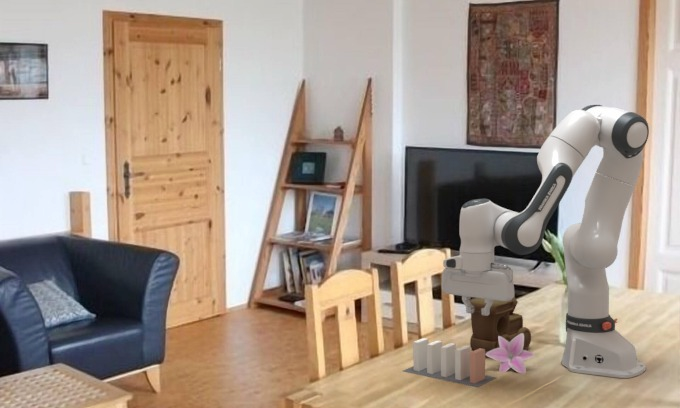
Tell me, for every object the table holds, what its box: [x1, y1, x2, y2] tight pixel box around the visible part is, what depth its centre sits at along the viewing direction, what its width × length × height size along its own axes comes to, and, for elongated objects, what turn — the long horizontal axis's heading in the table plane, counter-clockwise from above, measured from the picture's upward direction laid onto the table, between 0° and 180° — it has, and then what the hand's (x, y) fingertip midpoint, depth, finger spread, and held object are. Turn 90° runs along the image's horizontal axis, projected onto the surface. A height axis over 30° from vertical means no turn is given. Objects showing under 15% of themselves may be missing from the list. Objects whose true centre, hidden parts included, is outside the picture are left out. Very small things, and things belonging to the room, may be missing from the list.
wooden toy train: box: [469, 296, 532, 353], centre depth 271 cm, size 20×11×17 cm, turn 138°
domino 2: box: [427, 339, 443, 374], centre depth 252 cm, size 2×5×8 cm, turn 140°
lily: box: [485, 333, 536, 374], centre depth 253 cm, size 12×12×10 cm
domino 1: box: [412, 337, 430, 371], centre depth 255 cm, size 2×5×8 cm, turn 140°
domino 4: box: [455, 345, 471, 380], centre depth 246 cm, size 2×5×8 cm, turn 140°
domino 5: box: [470, 348, 486, 383], centre depth 243 cm, size 2×5×8 cm, turn 140°
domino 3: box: [441, 342, 457, 377], centre depth 249 cm, size 2×5×8 cm, turn 140°
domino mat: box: [402, 365, 497, 388], centre depth 249 cm, size 24×10×1 cm, turn 50°
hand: (477, 314), depth 242 cm, fingers open, 3 cm apart
